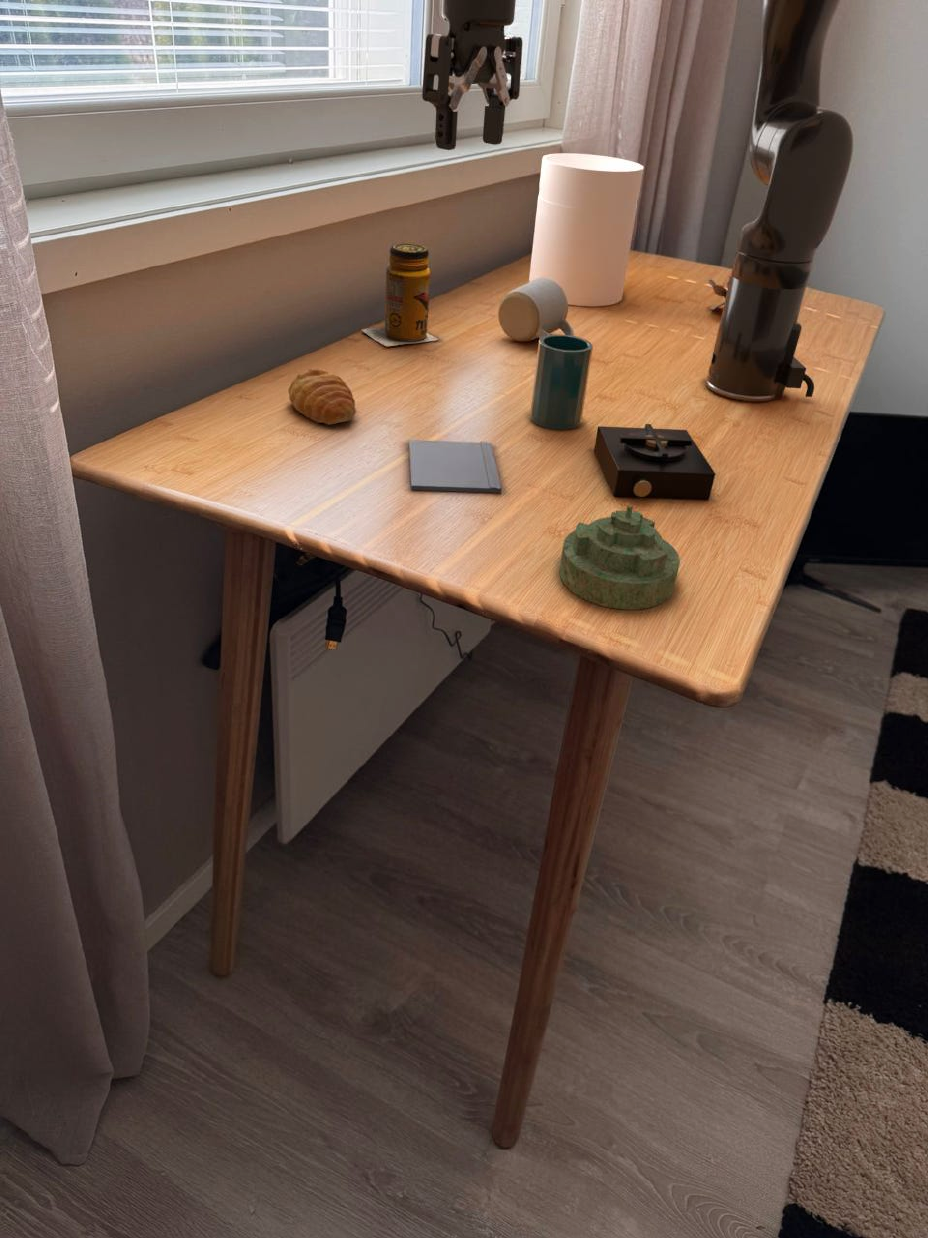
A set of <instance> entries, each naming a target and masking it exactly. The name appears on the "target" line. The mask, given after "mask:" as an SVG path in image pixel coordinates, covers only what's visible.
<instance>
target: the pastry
mask: <svg viewBox="0 0 928 1238" xmlns="http://www.w3.org/2000/svg"><path fill="white" fill-rule="evenodd" d="M288 396H289V401H290V403H291V405H292V407H294V409H295V410H296V411H297V412H298V413H300V414H303V416H305V417H306V418H307V419H310V420H311V421H313V422H315V423H319V424H320V423H323V424H325V425H328V426H330V425H335V424H337V423H343V422H344V423H345V422H349V421H352V419H353V417H354V416H355V415H356V413H357V410H356V400H355V399H354V396H353V393H352V390H351V389H350V387H349V386H348V385H347V383H346V382H345V380H343V378H341V377H340V376H339V375H336V374H330V373H329V371H327V370H324V369H320V368H309V369H307V370H305V371H303V372H302V373H298V374H297V376H296V377H294V378H293V380H292V381H291V383H290V385H289V386H288Z"/></svg>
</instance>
